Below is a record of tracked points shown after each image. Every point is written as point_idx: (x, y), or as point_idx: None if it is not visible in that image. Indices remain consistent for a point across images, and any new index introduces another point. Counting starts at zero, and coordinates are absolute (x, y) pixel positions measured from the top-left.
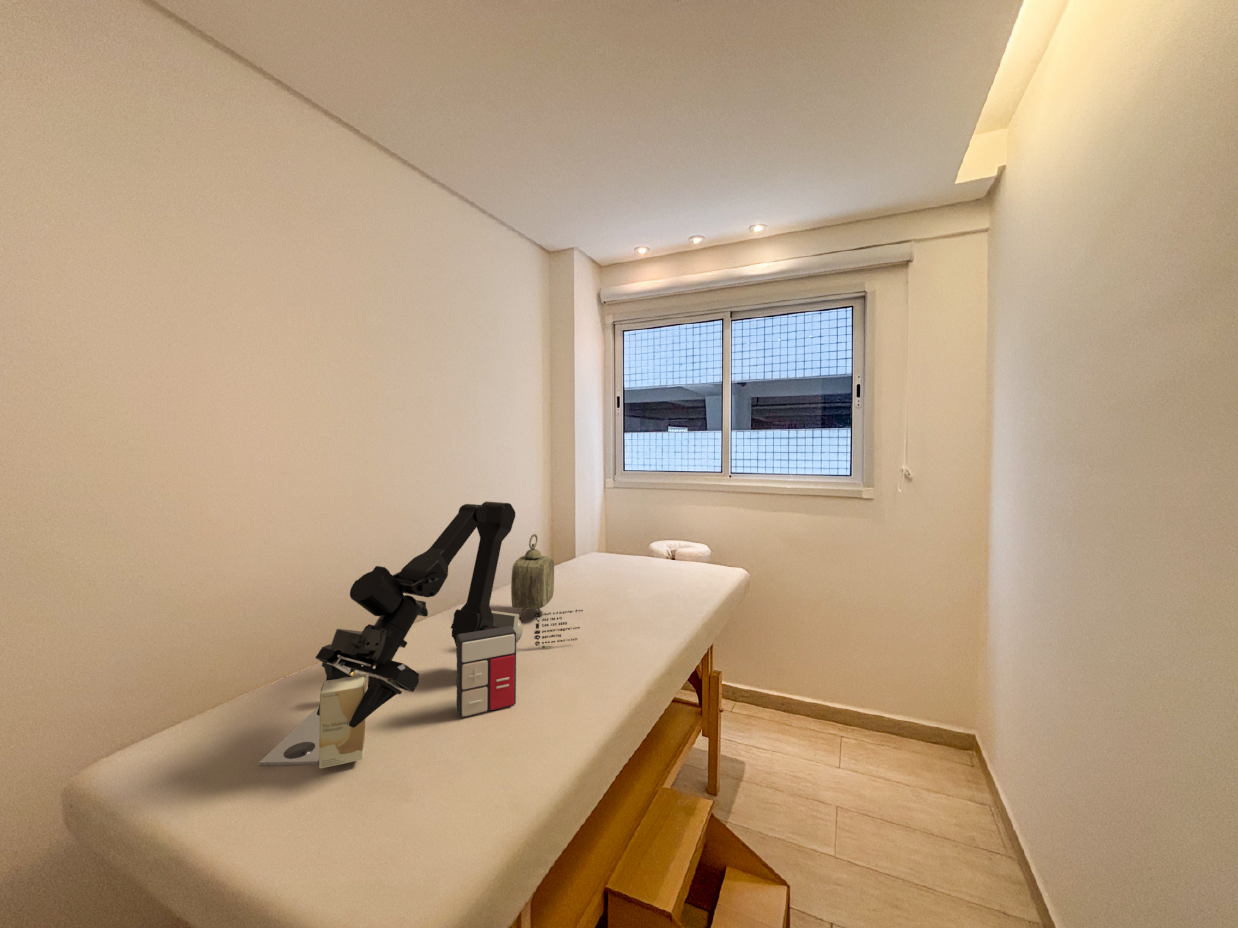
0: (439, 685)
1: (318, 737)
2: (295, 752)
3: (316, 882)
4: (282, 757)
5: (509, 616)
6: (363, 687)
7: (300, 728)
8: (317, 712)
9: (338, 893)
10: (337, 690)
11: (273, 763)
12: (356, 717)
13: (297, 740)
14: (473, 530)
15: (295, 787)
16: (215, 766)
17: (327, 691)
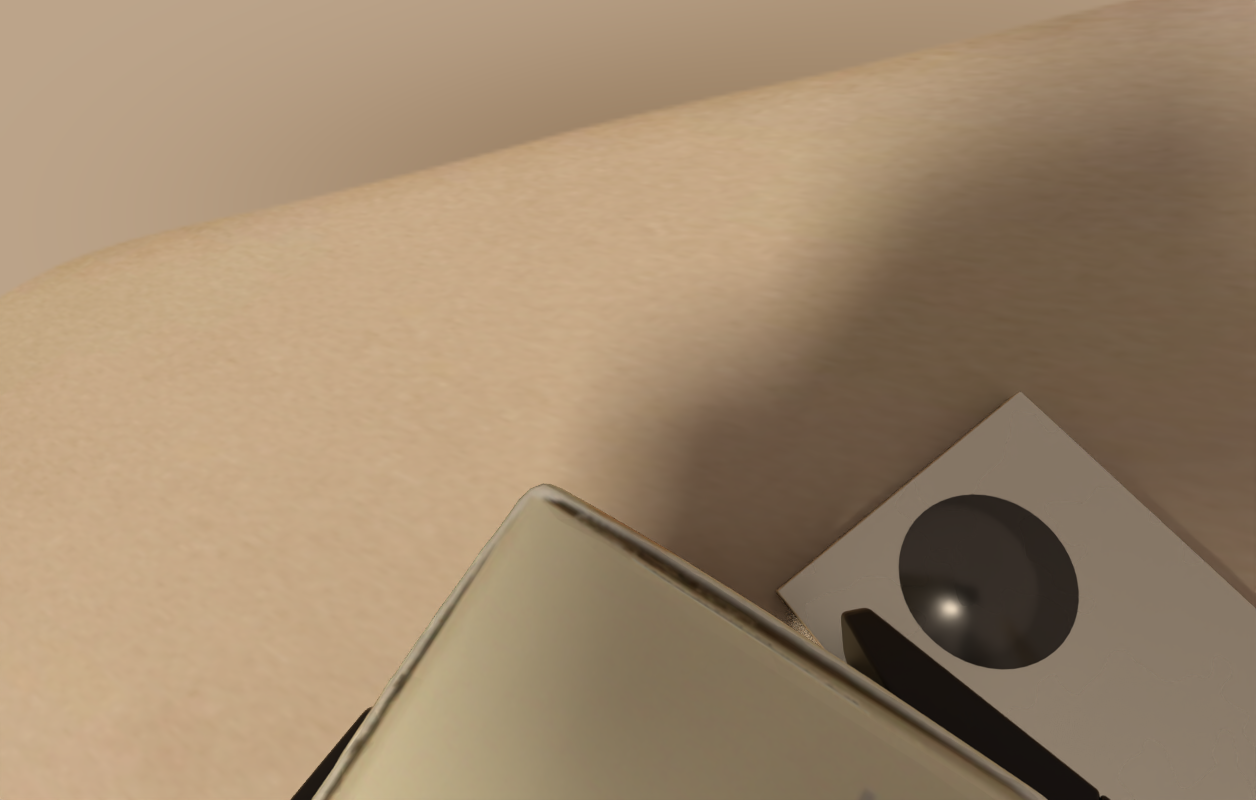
0: None
1: (1059, 724)
2: (975, 551)
3: (141, 310)
4: (975, 484)
5: None
6: None
7: None
8: (870, 615)
9: (49, 334)
10: (375, 762)
11: (961, 441)
12: (310, 790)
13: (1124, 617)
14: None
15: (669, 444)
16: (1173, 264)
17: (486, 600)
